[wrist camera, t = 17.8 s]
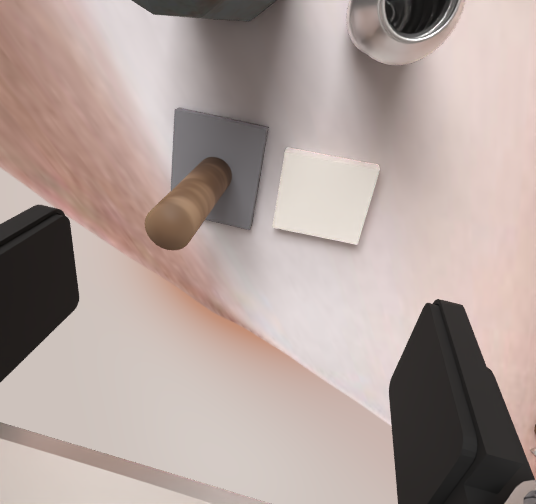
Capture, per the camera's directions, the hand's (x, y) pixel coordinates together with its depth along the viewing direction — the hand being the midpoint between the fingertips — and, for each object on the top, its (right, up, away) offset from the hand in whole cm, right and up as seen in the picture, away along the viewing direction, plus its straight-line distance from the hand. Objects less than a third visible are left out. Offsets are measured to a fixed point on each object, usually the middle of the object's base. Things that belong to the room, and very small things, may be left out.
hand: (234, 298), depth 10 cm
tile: (+12, +6, +33) cm, 36 cm away
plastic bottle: (+11, +23, +25) cm, 36 cm away
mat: (-5, +11, +35) cm, 37 cm away
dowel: (-5, +10, +34) cm, 36 cm away
